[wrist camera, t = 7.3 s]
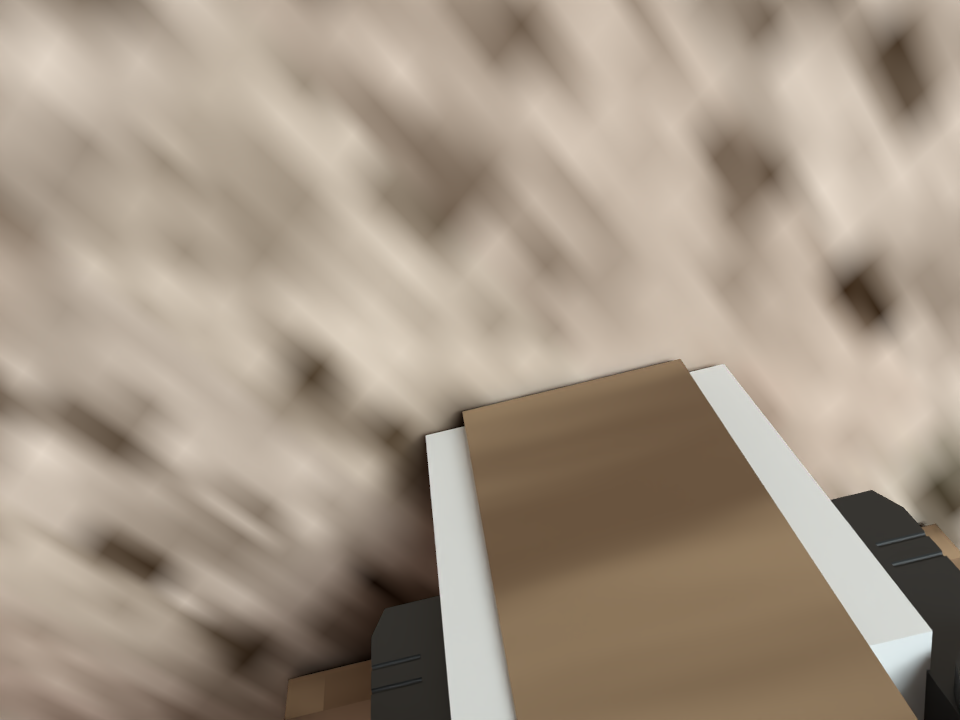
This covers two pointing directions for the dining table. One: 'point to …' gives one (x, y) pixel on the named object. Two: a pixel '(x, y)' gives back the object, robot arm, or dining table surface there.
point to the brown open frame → (644, 570)
